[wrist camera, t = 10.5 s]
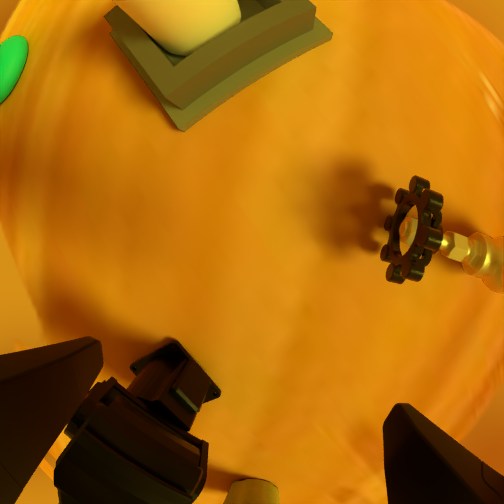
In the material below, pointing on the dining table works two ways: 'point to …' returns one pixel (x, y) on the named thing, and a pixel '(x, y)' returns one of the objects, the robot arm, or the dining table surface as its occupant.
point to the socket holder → (220, 55)
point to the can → (183, 21)
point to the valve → (436, 240)
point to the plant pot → (252, 492)
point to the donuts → (11, 63)
